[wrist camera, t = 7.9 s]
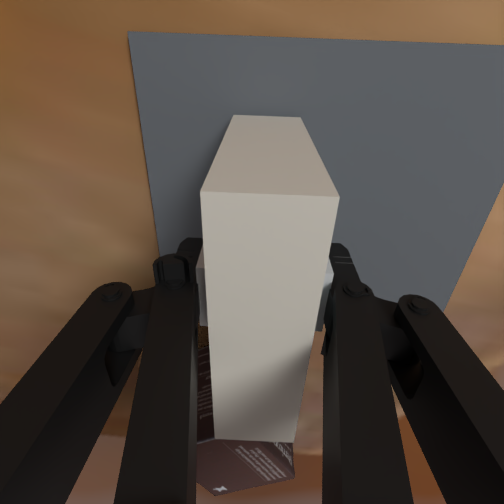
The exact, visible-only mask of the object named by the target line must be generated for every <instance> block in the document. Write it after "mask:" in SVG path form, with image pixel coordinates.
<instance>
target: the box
mask: <svg viewBox="0 0 504 504" xmlns="http://www.w3.org/2000/svg"><path fill="white" fill-rule="evenodd" d="M294 478H295V472H294V465H293V445H292V443H289V442H268V441H248V440H227V439H215V434H214V417H213V400H212V383H211V366H210V349H209V346H207V347H204V348H202V349H199V350H198V385H197V460H196V482H197V483H199V484H200V485H202V486H203V487H204V488H205V489H207V490H208V491H209V492H210V493H212V494H213V495H214V496H218V495H223V494H227V493H231V492H234V491H239V490H244V489H248V488H252V487H258V486H262V485H267V484H272V483H276V482H281V481H286V480H290V479H294Z"/></svg>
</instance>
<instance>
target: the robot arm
mask: <svg viewBox="0 0 504 504" xmlns="http://www.w3.org/2000/svg"><path fill="white" fill-rule="evenodd" d="M153 271H154V277H155V283H156V285H155V286H154V287H152V288H149V289H145V290H139V291H133V292H132V289H131V287H130V286H129V285H128V284H126V283H122V282H112V283H108V284H104V285H102V286H100V287H98V288H97V289H96V290H94V291H93V292H92V293H91V295H90V296H89V297H88V298H87V300H86V301H85V302H84V303H83V304H82V306H81V307H80V308H79V309H78V310H77V312H76V313H75V314H74V315H73V317H72V318H71V319H70V320H69V321H68V323H67V324H66V325H65V326H64V327H63V329H62V330H61V331H60V332H59V334H58V335H57V336H56V337H55V338H54V340H53V341H52V342H51V343H50V345H49V346H48V347H47V348H46V349H45V351H44V352H43V353H42V354H41V355H40V357H39V358H38V359H37V360H36V362H35V363H34V364H33V365H32V366H31V368H30V369H29V370H28V371H27V372H26V374H25V375H24V376H23V377H22V379H21V380H20V381H19V382H18V383H17V385H16V386H15V387H14V388H13V389H12V391H11V392H10V393H9V394H8V396H7V397H6V398H5V399H4V400H3V402H2V403H1V404H0V504H65V502H66V501H67V499H68V496H69V495H70V493H71V491H72V489H73V487H74V485H75V483H76V481H77V479H78V477H79V475H80V473H81V471H82V469H83V467H84V465H85V463H86V461H87V459H88V457H89V455H90V453H91V451H92V449H93V447H94V445H95V443H96V441H97V439H98V437H99V435H100V433H101V431H102V429H103V427H104V425H105V423H106V421H107V419H108V417H109V415H110V413H111V411H112V409H113V407H114V405H115V403H116V401H117V399H118V397H119V395H120V393H121V391H122V389H123V387H124V385H125V383H126V381H127V379H128V377H129V375H130V373H131V371H132V369H133V367H134V365H135V363H136V361H137V359H138V357H139V355H140V353H141V351H142V349H143V353H142V358H141V363H140V368H139V374H138V379H137V384H136V389H135V394H134V400H133V405H132V410H131V415H130V420H129V426H128V431H127V436H126V441H125V447H124V452H123V457H122V462H121V468H120V473H119V478H118V483H117V488H116V494H115V499H114V504H196V460H197V385H198V326H197V325H198V321H199V318H200V326H208V316H207V299H206V282H205V265H204V248H203V238H192V237H187V238H186V239H185V240H183V241H182V242H181V243H180V244H179V247H178V249H177V252H176V253H173V254H166V255H164V256H161V257H159V258H158V259H156V260H155V261H154V263H153ZM324 323H325V328H326V332H325V337H324V342H323V346H322V351H321V354H322V355H324V372H323V473H322V476H323V478H322V504H414V502H413V497H412V492H411V487H410V481H409V476H408V471H407V466H406V461H405V456H404V450H403V445H402V440H401V434H400V429H399V424H398V418H397V413H396V408H395V403H394V397H393V392H392V387H393V389H394V391H395V393H396V395H397V398H398V400H399V402H400V404H401V406H402V408H403V411H404V413H405V415H406V417H407V419H408V421H409V423H410V426H411V428H412V430H413V432H414V434H415V436H416V439H417V441H418V443H419V445H420V447H421V449H422V452H423V454H424V456H425V458H426V460H427V462H428V464H429V466H430V469H431V471H432V473H433V475H434V477H435V480H436V482H437V484H438V486H439V488H440V490H441V492H442V495H443V497H444V499H445V501H446V503H447V504H504V390H503V389H502V388H501V387H500V385H499V384H498V383H497V381H496V380H495V379H494V378H493V376H492V375H491V374H490V372H489V371H488V370H487V369H486V367H485V366H484V365H483V363H482V362H481V361H480V360H479V358H478V357H477V356H476V354H475V353H474V352H473V351H472V349H471V348H470V347H469V345H468V344H467V343H466V342H465V340H464V339H463V338H462V336H461V335H460V334H459V333H458V331H457V330H456V329H455V327H454V326H453V325H452V324H451V322H450V321H449V320H448V318H447V317H446V316H445V315H444V313H443V312H442V311H441V309H440V308H439V307H438V306H437V305H436V304H435V303H434V302H433V301H431V300H429V299H427V298H425V297H422V296H419V295H413V294H408V295H403V296H402V297H400V298H399V301H398V303H396V302H392V301H388V300H384V299H381V298H378V297H376V296H374V293H373V291H372V289H371V288H370V287H369V286H367V285H366V284H364V283H362V282H361V280H360V278H359V275H358V273H357V271H356V268H355V266H354V264H353V261H352V258H351V256H350V253H349V251H348V249H347V248H346V247H344V246H343V245H342V244H341V243H331V247H330V252H329V257H328V263H327V268H326V273H325V279H324V284H323V289H322V295H321V300H320V305H319V311H318V316H317V321H316V327H315V331H322V329H323V324H324ZM391 385H392V387H391Z"/></svg>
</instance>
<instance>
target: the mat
mask: <svg viewBox="0 0 504 504" xmlns="http://www.w3.org/2000/svg"><path fill="white" fill-rule="evenodd" d="M128 38H129V45H130V52H131V59H132V66H133V73H134V80H135V87H136V94H137V101H138V108H139V115H140V122H141V128H142V135H143V142H144V149H145V156H146V163H147V170H148V177H149V184H150V191H151V198H152V205H153V212H154V219H155V226H156V232H157V239H158V246H159V253H160V257H161V256H164V255H166V254H173V253H176V252H177V249H178V247H179V244H180V243H181V242H182V241H183V240H185V239H186V238H187V237H192V238H203V232H202V215H201V198H200V190H201V188H202V186H203V184H204V181H205V179H206V177H207V174H208V172H209V170H210V168H211V165H212V163H213V161H214V158H215V156H216V154H217V151H218V149H219V147H220V145H221V142H222V140H223V138H224V135H225V133H226V131H227V129H228V126H229V124H230V122H231V119H232V117H233V115H253V116H279V117H301V119H302V121H303V123H304V125H305V127H306V129H307V131H308V133H309V136H310V138H311V140H312V142H313V144H314V146H315V148H316V150H317V152H318V154H319V156H320V158H321V160H322V162H323V164H324V166H325V168H326V170H327V172H328V174H329V176H330V178H331V180H332V182H333V184H334V186H335V188H336V190H337V192H338V194H339V196H340V199H339V204H338V209H337V215H336V220H335V225H334V231H333V236H332V241H331V243H341V244H342V245H343V246H344V247H346V248H347V249H348V251H349V253H350V256H351V258H352V261H353V264H354V266H355V268H356V271H357V273H358V275H359V278H360V280H361V282H362V283H364V284H366V285H367V286H369V287H370V288H371V289H372V291H373V293H374V296H376V297H378V298H381V299H384V300H388V301H392V302H396V303H398V301H399V298H400V297H402V296H403V295H408V294H413V295H419V296H422V297H425V298H427V299H429V300H431V301H433V302H434V303H435V304H436V305H437V306H438V307H439V308H440V309H441V311H442V312H443V311H444V309H445V307H446V305H447V303H448V301H449V299H450V296H451V294H452V292H453V290H454V288H455V286H456V284H457V282H458V279H459V277H460V275H461V273H462V271H463V269H464V267H465V264H466V262H467V260H468V258H469V256H470V254H471V252H472V249H473V247H474V245H475V243H476V241H477V239H478V237H479V234H480V232H481V230H482V228H483V226H484V224H485V222H486V220H487V217H488V215H489V213H490V211H491V209H492V207H493V205H494V202H495V200H496V198H497V196H498V194H499V192H500V190H501V187H502V185H503V183H504V45H480V44H453V43H426V42H399V41H372V40H346V39H319V38H292V37H265V36H238V35H211V34H185V33H158V32H131V31H128ZM324 324H325V323H324Z"/></svg>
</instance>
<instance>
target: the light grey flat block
mask: <svg viewBox="0 0 504 504" xmlns="http://www.w3.org/2000/svg"><path fill="white" fill-rule="evenodd" d="M200 198H201V215H202V232H203V248H204V265H205V282H206V299H207V316H208V333H209V349H210V366H211V383H212V400H213V417H214V434H215V439H227V440H248V441H268V442H289V443H294V438H295V433H296V428H297V422H298V417H299V412H300V406H301V401H302V396H303V390H304V385H305V380H306V374H307V369H308V364H309V358H310V353H311V348H312V342H313V337H314V332H315V327H316V321H317V316H318V311H319V305H320V300H321V295H322V289H323V284H324V279H325V273H326V268H327V263H328V257H329V252H330V247H331V241H332V236H333V231H334V225H335V220H336V215H337V209H338V204H339V199H340V196H339V194H338V192H337V190H336V188H335V186H334V184H333V182H332V180H331V178H330V176H329V174H328V172H327V170H326V168H325V166H324V164H323V162H322V160H321V158H320V156H319V154H318V152H317V150H316V148H315V146H314V144H313V142H312V140H311V138H310V136H309V133H308V131H307V129H306V127H305V125H304V123H303V121H302V119H301V117H279V116H253V115H233V117H232V119H231V122H230V124H229V126H228V129H227V131H226V133H225V135H224V138H223V140H222V142H221V145H220V147H219V149H218V151H217V154H216V156H215V158H214V161H213V163H212V165H211V168H210V170H209V172H208V174H207V177H206V179H205V181H204V184H203V186H202V188H201V190H200Z"/></svg>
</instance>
